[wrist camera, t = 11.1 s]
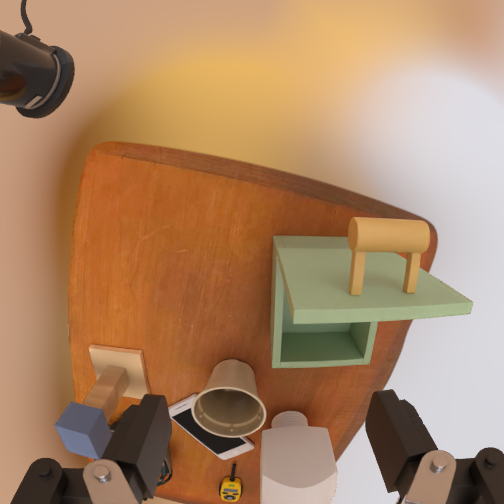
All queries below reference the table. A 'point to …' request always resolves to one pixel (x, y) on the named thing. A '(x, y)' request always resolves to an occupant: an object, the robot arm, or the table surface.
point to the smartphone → (214, 443)
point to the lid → (368, 277)
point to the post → (116, 377)
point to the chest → (313, 335)
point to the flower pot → (230, 401)
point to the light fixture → (296, 462)
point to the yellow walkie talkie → (231, 487)
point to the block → (84, 430)
